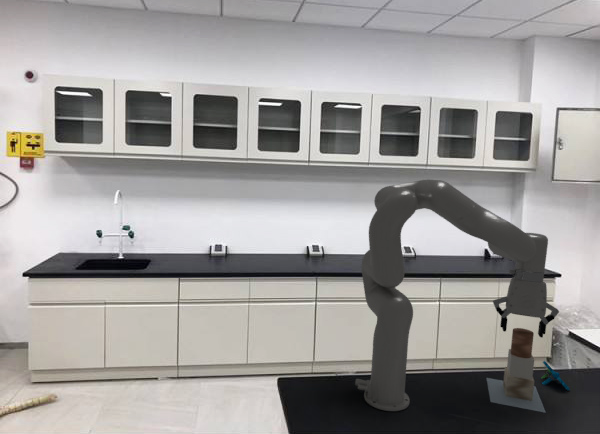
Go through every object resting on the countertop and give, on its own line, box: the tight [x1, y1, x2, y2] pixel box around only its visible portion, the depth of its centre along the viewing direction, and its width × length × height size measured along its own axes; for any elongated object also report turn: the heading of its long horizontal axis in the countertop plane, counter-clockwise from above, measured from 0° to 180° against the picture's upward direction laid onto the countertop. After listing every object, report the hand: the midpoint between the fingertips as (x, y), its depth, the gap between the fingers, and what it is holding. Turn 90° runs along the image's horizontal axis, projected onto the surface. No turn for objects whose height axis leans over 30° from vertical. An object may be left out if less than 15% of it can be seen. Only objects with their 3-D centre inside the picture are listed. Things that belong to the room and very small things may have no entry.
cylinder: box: [510, 327, 535, 358], centre depth 130 cm, size 6×6×7 cm
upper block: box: [506, 348, 535, 380], centre depth 131 cm, size 6×6×6 cm
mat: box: [486, 377, 547, 413], centre depth 132 cm, size 14×16×1 cm
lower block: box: [502, 366, 535, 401], centre depth 132 cm, size 7×7×6 cm
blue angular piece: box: [540, 360, 571, 391], centre depth 139 cm, size 11×6×10 cm
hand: (521, 332), depth 130 cm, fingers open, 9 cm apart
